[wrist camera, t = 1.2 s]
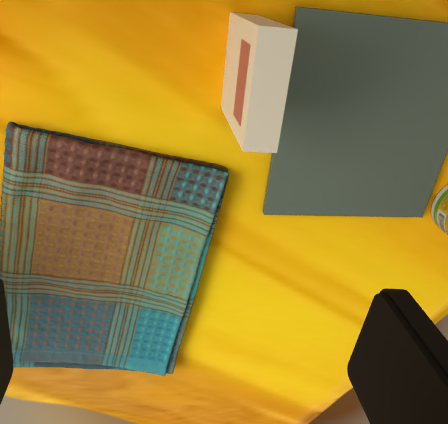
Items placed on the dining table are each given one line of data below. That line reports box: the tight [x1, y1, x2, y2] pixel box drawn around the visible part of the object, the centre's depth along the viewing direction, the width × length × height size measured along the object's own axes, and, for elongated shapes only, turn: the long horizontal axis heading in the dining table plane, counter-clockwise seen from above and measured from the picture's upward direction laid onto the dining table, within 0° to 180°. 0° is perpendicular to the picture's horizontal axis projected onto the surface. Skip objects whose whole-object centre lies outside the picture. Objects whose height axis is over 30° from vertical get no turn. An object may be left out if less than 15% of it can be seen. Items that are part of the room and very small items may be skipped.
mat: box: [263, 7, 448, 217], centre depth 33 cm, size 16×15×1 cm
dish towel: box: [0, 122, 229, 376], centre depth 36 cm, size 17×23×2 cm
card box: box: [221, 12, 298, 153], centre depth 26 cm, size 6×2×9 cm, turn 175°
